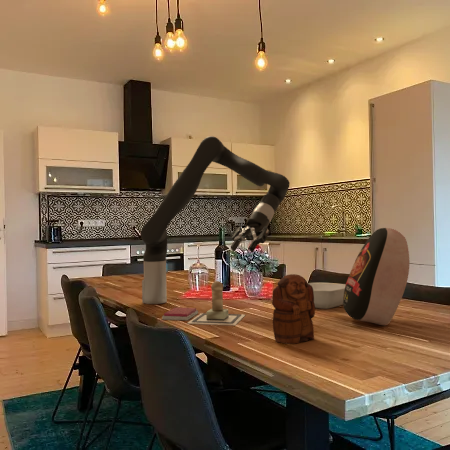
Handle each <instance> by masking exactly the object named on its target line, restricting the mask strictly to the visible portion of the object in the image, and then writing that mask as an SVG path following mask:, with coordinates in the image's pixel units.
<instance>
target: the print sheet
mask: <svg viewBox="0 0 450 450" xmlns="http://www.w3.org/2000/svg"><path fill="white" fill-rule="evenodd" d="M245 316H246V314H239V313H238V314H237V313H228V318H227V319H225V320H224V321H219V320H207V316H206V312H205V313H204V312H203V313H202V312H201V313H199V314H197V315H196V316H194V318H191V320H188V322H187V323H186V324H187V325H209V326H211V325H212V326H235V327H236V325H238V324H239V323H240V322H241V321H242V320H243V318H244V317H245Z"/></svg>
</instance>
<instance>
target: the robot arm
mask: <svg viewBox="0 0 450 450" xmlns="http://www.w3.org/2000/svg"><path fill="white" fill-rule="evenodd" d="M212 163H215V164H218V165H221V166H223V167H226V168H228V169H229V170H231V171H232V172H235V173H236V174H238V175H239V176H241V177H242V178H244V179H246V180H247V181H249V182H250V183H253V184H254V185H255V186H258V187H263V186H264V185H268V186H269V189H268V190H267V192H266V194H264V195H263V197H262V198H261V199H260V200H259V203H258V204H257V206H256V207H254V209H253V211H252V212H251V214H250V215H249V217H248V219H246V220H247V221H246V226H245V227H244V228H242V227H241V226H238V227H237V228H236V230H235V232H234V233H233V234H232V236H231V240H232V243H231V245H230V249H231V251H233V252H235V251H237V249H238V247H239V246H240V244H241V243H242V242H247V240H252V241H251V243H250V244H249V246H248V251H249V252H250V253H253V252H254V251H255V250H256V248H257V246H259V245H260V244H264V243H265V242H266V240H267V238H268V236H269V235H270V230H269V229H268V226H269V224H271V223H270V222H271V221H272V220H273V217H274V215H275V213H276V211H277V209H278V208H279V206H280V204H281V203H282V202H283V200H284V199H285V198H286V196H287V192H288V190H289V188H290V180H289V179H288V178H287V177H286V176H285V175H283V174H281V173H277V172H274V171H271V170H268V169H267V170H266V169H265V168H263V167H261V166H259V165H258V164H256V163H254V162H253V161H250V160H249V159H246V158H244V157H241V156H239V155H238V154H235V153H234V152H232V151H231V150H230V149H229V148H227V146H225V145H224V144H223V142H222V141H221V140H220V139H219V138H218V137H217V136H213V135H211V136H210V135H209V136H206V137H204V138H203V139H202V140H201V142H199V145H198V147H197V149H196V150H195V152H194V154H193V156H192V158H191V159H190V161H189V163H188V164H187V165H186V167H185V168H184V169H183V171H182V172H181V174H180V175H179V176H178V177H177V178H176V181H175V182H174V183H173V184H172V186H171V188H169V190H168V192H167V194H166V195H165V197H164V198H163V200H162V201H161V203H160V205H159V206H158V208H157V210H156V211H155V212H154V213H153V215H152V216H151V217H150V218H149V219H148V220H147V221H146V223H145V224H144V225H142V228H141V230H140V231H141V232H140V239H141V240H142V241H143V243H145V251H144V254H143V256H142V257H143V279H142V280H141V294H142V295H141V301H142V302H141V303H142V304H148V305H159V304H165V303H167V300H168V299H167V253H168V232H167V231H168V230H167V228H168V227H169V225H170V224H171V222H172V220H173V219H174V218H175V217H176V216H177V215H179V213H180V212H182V211H183V210H184V209H185V207H187V205H188V204H189V203H190V201H191V200H192V199H193V197H194V196H195V194H196V192H197V190H198V188H199V186H200V183H201V180H202V179H203V175H204V174H205V171H206V170H207V169H208V168H209V166H210V165H211V164H212ZM243 236H244V237H243Z"/></svg>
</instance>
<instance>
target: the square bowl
mask: <svg viewBox="0 0 450 450" xmlns="http://www.w3.org/2000/svg"><path fill="white" fill-rule="evenodd" d="M307 283H308V284H310V285H311V286H312V287H313V292H314V304H315V309H322V310H327V309H332V308H335V307H336V308H337V307H339V306H340V307H341V306H343V297H344V290H345V286H346V283H333V282H307Z"/></svg>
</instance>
